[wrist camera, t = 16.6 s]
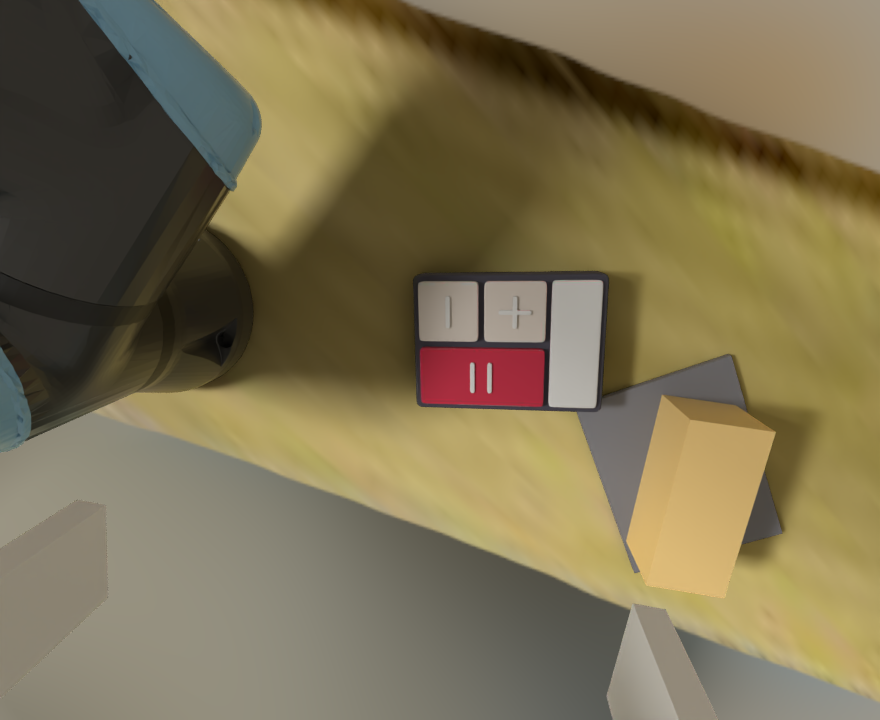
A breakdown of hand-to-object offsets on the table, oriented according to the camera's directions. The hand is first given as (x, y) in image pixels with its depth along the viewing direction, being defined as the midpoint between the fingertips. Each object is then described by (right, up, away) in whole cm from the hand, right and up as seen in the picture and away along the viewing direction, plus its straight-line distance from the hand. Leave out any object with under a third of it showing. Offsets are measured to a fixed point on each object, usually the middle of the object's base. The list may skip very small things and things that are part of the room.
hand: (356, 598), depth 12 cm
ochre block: (+22, -12, +30) cm, 39 cm away
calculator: (+8, +8, +31) cm, 33 cm away
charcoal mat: (+23, -4, +31) cm, 39 cm away
